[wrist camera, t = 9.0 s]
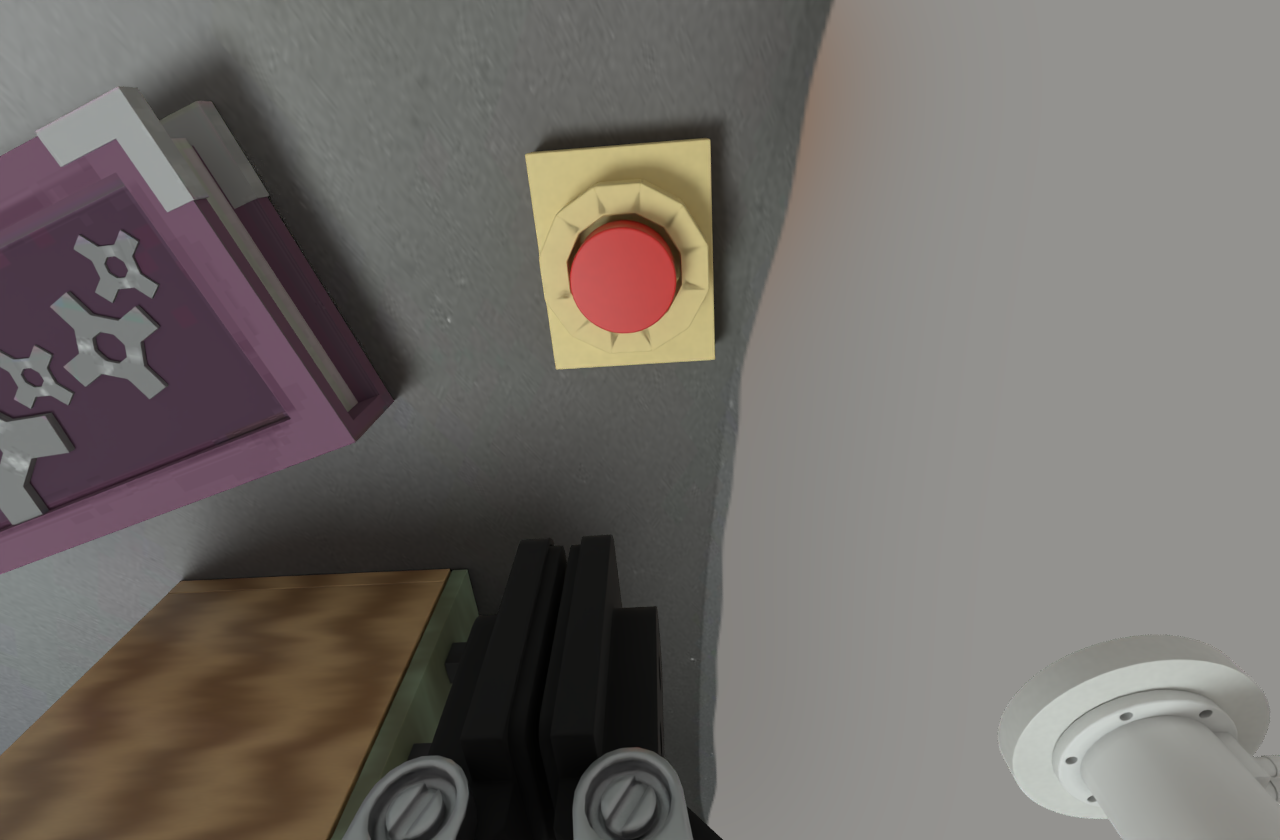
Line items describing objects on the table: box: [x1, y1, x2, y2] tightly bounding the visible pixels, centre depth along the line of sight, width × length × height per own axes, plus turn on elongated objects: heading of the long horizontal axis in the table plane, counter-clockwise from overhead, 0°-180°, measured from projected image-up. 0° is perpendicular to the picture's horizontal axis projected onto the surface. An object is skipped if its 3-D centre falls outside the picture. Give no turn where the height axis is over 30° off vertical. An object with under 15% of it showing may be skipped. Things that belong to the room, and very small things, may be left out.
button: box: [570, 220, 676, 333], centre depth 26 cm, size 4×4×2 cm
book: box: [0, 87, 394, 574], centre depth 30 cm, size 25×16×5 cm, turn 112°
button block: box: [525, 138, 715, 369], centre depth 28 cm, size 10×8×4 cm
